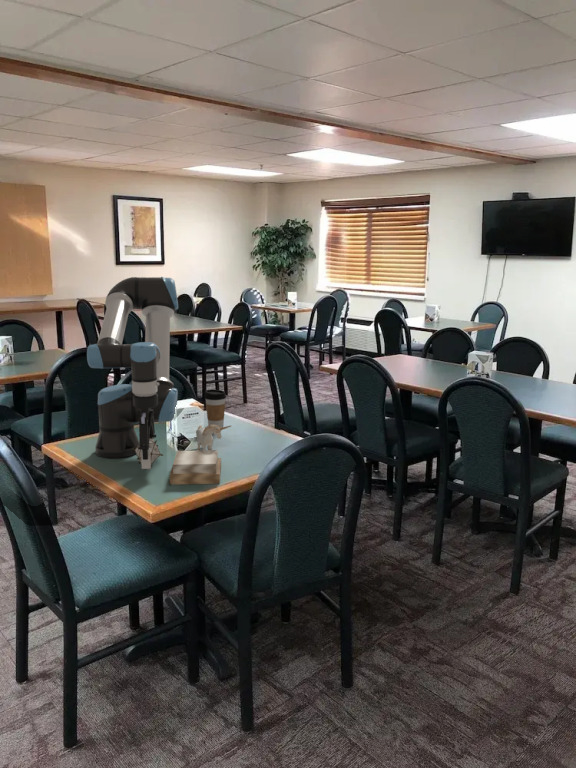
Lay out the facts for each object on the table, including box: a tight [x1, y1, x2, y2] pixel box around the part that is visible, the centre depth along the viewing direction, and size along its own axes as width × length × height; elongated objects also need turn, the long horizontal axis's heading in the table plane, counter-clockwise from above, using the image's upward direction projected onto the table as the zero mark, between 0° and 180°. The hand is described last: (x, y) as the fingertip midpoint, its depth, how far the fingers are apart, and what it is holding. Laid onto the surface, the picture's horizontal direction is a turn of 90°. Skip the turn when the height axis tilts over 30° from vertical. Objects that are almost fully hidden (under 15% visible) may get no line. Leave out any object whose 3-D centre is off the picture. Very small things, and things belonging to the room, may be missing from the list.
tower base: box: [169, 449, 222, 486], centre depth 195 cm, size 15×15×6 cm
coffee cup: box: [204, 388, 227, 428], centre depth 246 cm, size 8×8×15 cm
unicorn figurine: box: [195, 424, 232, 451], centre depth 210 cm, size 7×20×13 cm, turn 37°
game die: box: [132, 440, 164, 465], centre depth 194 cm, size 9×8×10 cm
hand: (148, 463), depth 195 cm, fingers closed on game die, 8 cm apart
